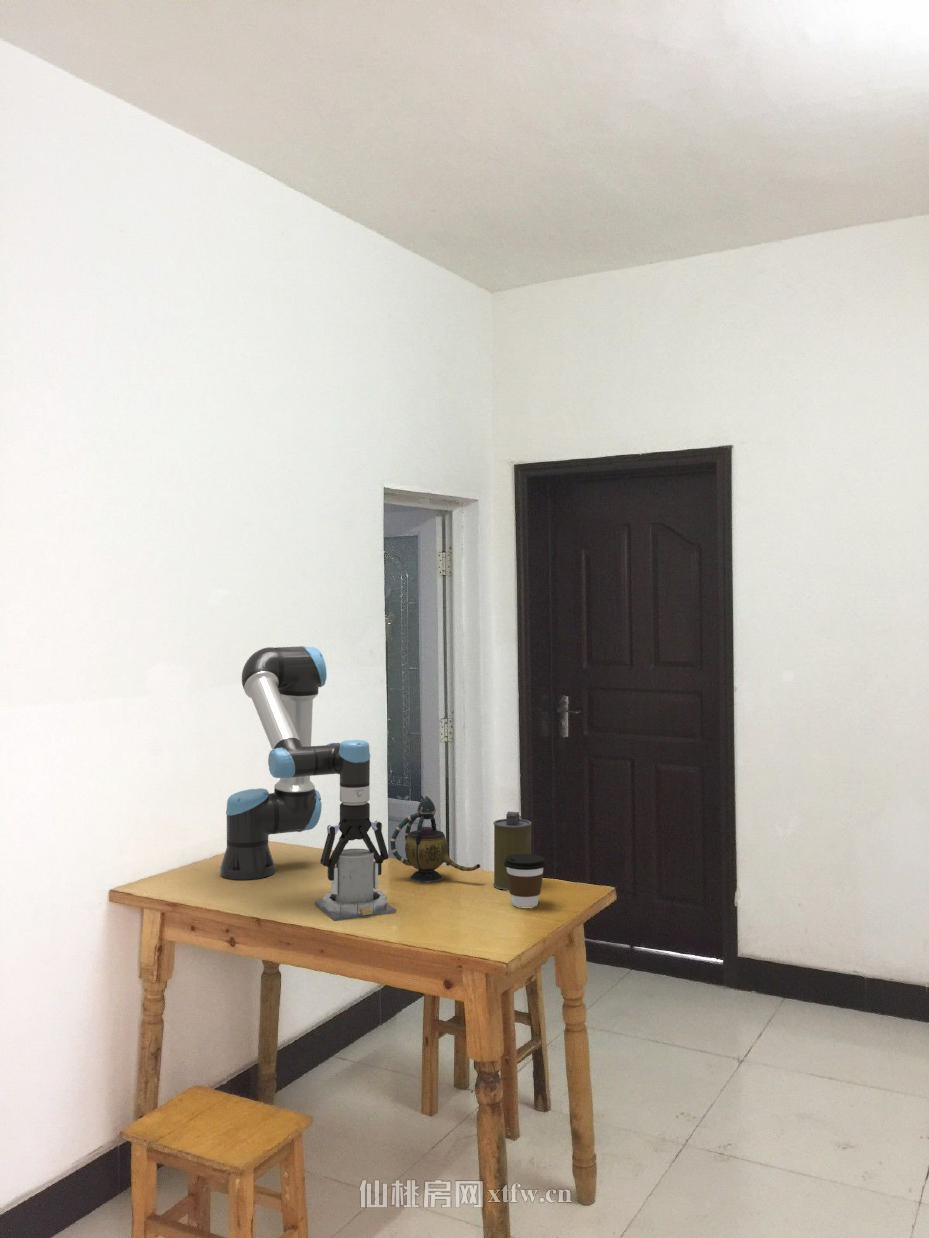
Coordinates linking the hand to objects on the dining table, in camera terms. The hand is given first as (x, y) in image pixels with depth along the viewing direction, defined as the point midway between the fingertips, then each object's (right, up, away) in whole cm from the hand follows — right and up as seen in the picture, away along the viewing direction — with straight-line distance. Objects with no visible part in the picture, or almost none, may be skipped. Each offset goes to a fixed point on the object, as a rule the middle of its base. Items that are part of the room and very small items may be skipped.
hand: (354, 890), depth 265 cm
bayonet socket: (0, -5, 0) cm, 5 cm away
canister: (+41, -4, +22) cm, 46 cm away
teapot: (+20, -4, +27) cm, 34 cm away
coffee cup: (+43, -5, +3) cm, 43 cm away
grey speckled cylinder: (0, -3, 0) cm, 3 cm away
